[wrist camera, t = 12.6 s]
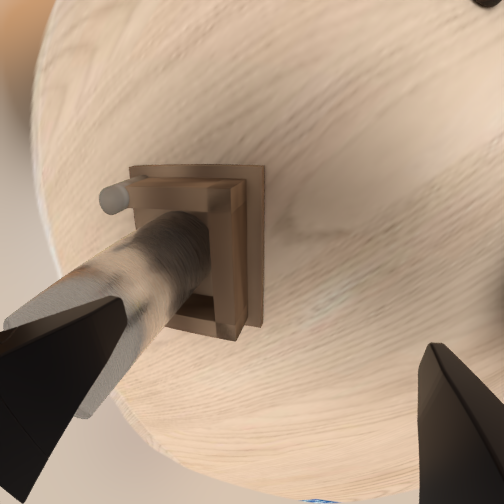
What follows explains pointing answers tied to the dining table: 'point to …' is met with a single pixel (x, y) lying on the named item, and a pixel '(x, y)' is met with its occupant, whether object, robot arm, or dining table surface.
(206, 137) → the dining table surface
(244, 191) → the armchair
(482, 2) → the wrench
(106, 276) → the grey cylinder
